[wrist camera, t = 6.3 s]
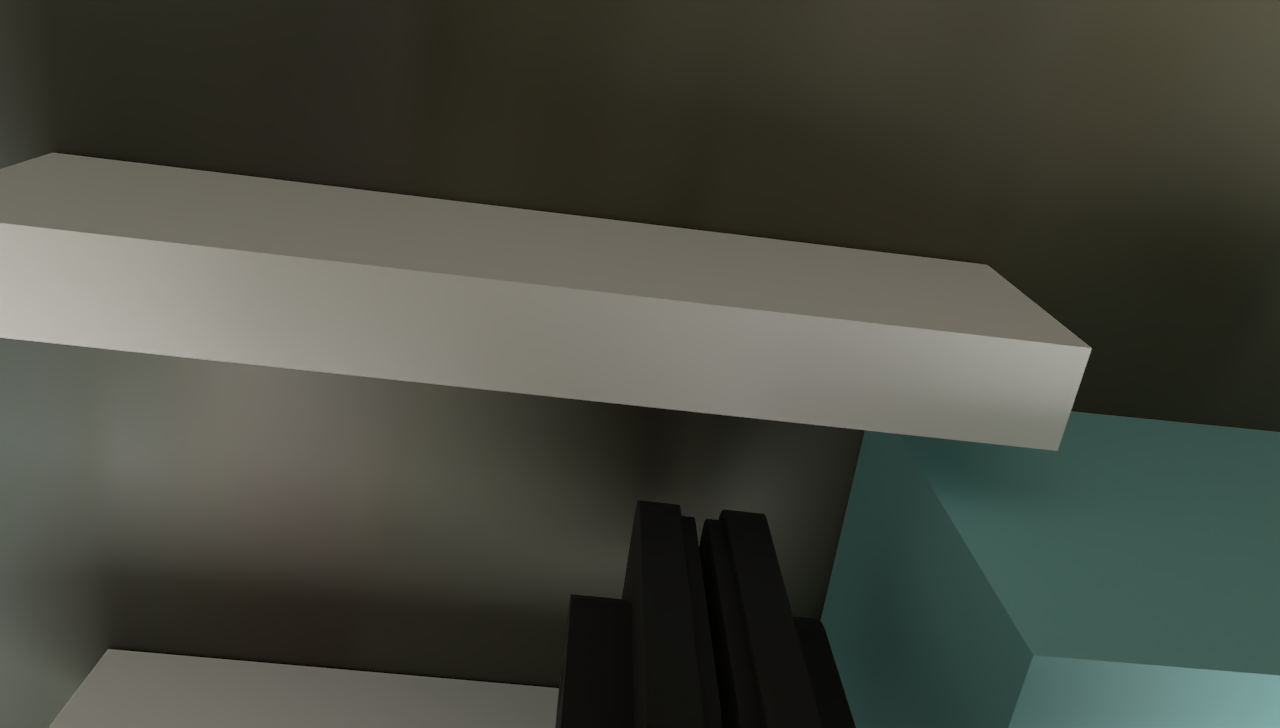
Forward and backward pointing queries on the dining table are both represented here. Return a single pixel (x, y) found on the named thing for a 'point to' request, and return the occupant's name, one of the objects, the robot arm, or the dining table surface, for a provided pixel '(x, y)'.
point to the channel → (495, 353)
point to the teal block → (1062, 580)
